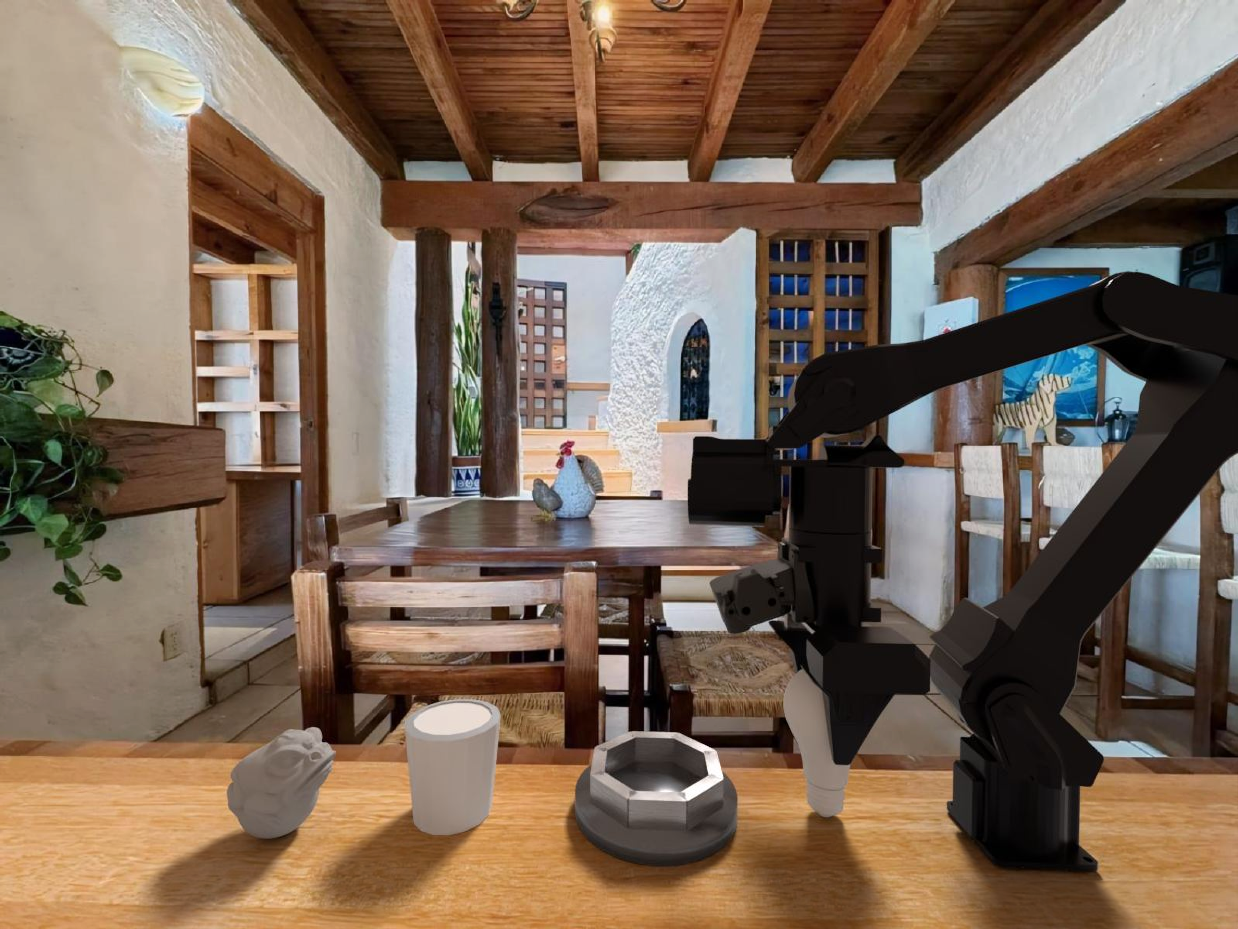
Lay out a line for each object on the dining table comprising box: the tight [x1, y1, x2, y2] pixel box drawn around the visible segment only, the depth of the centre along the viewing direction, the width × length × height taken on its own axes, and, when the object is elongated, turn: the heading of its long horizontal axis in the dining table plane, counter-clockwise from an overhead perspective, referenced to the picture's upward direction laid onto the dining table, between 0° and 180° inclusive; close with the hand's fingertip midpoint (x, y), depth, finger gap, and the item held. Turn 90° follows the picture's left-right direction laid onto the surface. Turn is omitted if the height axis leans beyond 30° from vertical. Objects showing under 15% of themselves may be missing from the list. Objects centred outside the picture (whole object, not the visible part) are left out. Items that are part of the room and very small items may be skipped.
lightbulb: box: [782, 669, 852, 818], centre depth 42 cm, size 6×6×11 cm
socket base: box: [574, 730, 739, 867], centre depth 43 cm, size 12×12×4 cm
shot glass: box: [404, 698, 502, 836], centre depth 42 cm, size 7×7×7 cm
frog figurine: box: [226, 726, 337, 840], centre depth 40 cm, size 6×7×7 cm
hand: (826, 740), depth 42 cm, fingers closed on lightbulb, 6 cm apart
